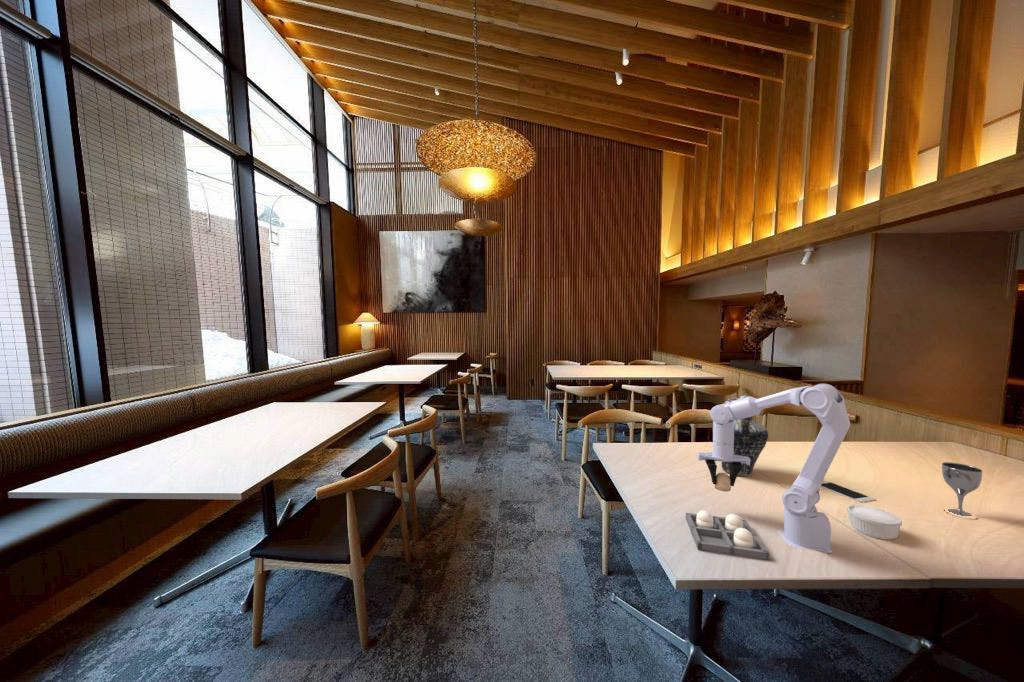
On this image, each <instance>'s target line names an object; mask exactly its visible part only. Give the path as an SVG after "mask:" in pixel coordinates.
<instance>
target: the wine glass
mask: <svg viewBox="0 0 1024 682" xmlns="http://www.w3.org/2000/svg"><path fill="white" fill-rule="evenodd" d="M941 474H942V477H943V480H944V482H945V483H946V485H948V486H949V488H951V489H952V490H953V492H954V493H955V494H956V496H957V503H958V504H957V505H958V508H953V509H948V511H949V512H952V513H954V514H957V515H961V516H972V515H971V514H972V513H971V512H969V511H966V512H965V511H964V510H963V504H964V499H965V497H966V496H967V495H968V494H971V493H972V492H974V491H976V490H978V489H979V488H980V486H981V484H982V481H983V470H982V469H981V468H979V467H977V466H973V465H969V464H965V463H964V464H963V463H958V462H950V461H946V462H945V461H944V462H942V464H941ZM968 512H969V513H968ZM970 513H971V514H970Z"/></svg>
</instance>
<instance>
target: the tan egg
mask: <svg viewBox="0 0 1024 682" xmlns="http://www.w3.org/2000/svg"><path fill="white" fill-rule="evenodd" d="M714 488H715V490H718V491H720V492H731V490H732V486H731V479H730V477H729V474H727V473H725V472H718V473H716V484H714Z"/></svg>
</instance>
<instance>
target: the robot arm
mask: <svg viewBox="0 0 1024 682" xmlns="http://www.w3.org/2000/svg"><path fill="white" fill-rule="evenodd" d="M739 398H740V399H738V400H735V401H731V402H730V401H728V400H727V401H724V403H722V404H717V405H715V406H713V407H712V408H711V409H710V411H709V414H710V415H709V416H710V418H711V420H712V424H713V431H712V452H697V453H696V454H697V455H696V457H697V461H705V464H706V466H707V468H708V471H709V474H710V477H711V483H712V485H715V484H716V474H717V469H718V465H717V463H716V462H721V463H722V462H729V470H730V473H729V474H728V476H729V477H730V479H731V487H734V486H735V483H736V480H737V478H738V476H739V475H738V474H739V472H740V471H741V470H742V465H741V463H744V464H747V465H750V458H749V457H747V456H739V455H734V420H739V419H743V418H748V417H752V418H753V417H754V416H759V415H761V411H762V410H764V409H768V408H769V409H770V408H774V407H777V406H782V405H787V404H792V405H795V406H797V407H798V406H799V407H800V406H803V407H804V408H806V409H807V410H808V411H810V412H811V413H812V414H814V415H815V416H816V417H817V419H818V420H819V422H820V423H821V425H822V427H821V428H820V430H819V433H818V434H817V437H816V438H815V441H814V443H813V445H812V446H811V449H810V450H809V454H808V455H807V457H806V459H805V462H804V463H803V466H802V468H801V469H800V472H799V474H798V476H797V477H796V479H795V481H794V482H793V483H792V485H791V487H790V488H789V489H787V490H785V491H784V492H783V493H782V496H781V500H782V504H783V505H784V509H783V510H784V511H783V513H784V515H783V530H777V532H778V533H779V535H780V536H781V537H782V538H783V540H784V541H785V543H786V544H788V545H789V547H792V548H798V549H807V550H814V551H822V552H825V553H826V554H827V553H828V554H832V553H833V551H832V550H831V542H832V541H831V539H832V538H831V535H832V533H831V532H832V528H831V522H830V519H829V518H828V515H826V514H825V512H822V511H818V509H817V507H816V504H818V503H819V502H820V500H821V494H820V489H821V488H822V487H821V483H822V481H824V479H825V476H826V474H827V473H828V470H829V469H830V467H831V464H832V463H833V461H834V458H835V456H836V454H837V453H838V451H839V449H840V447H841V445H842V443H843V441H844V439H845V437H846V435H847V433H848V431H849V429H850V426H851V420H850V418H849V415H848V412H847V411H848V410H847V406H846V404H845V403H846V402H845V398H844V396H843V395H842V393H840V391H839V390H838V389H837V388H836V387H835V386H833V385H831V384H828V383H818V384H815V385H814V386H812V385H806V386H799V387H795V388H794V387H793V388H790V389H787V390H783V391H780V392H777V393H774V394H770V395H766V396H763V397H760V398H756V397H754V396H750V395H749V396H747V395H745V394H744V395H742V396H740V397H739Z"/></svg>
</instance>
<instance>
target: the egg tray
mask: <svg viewBox="0 0 1024 682" xmlns="http://www.w3.org/2000/svg"><path fill="white" fill-rule="evenodd" d="M696 516H697V513H690V512H686V513H685V520H686V523H687V525H688V528H689V530H690V533H691V536H692V538H693V539H692V540H693V541H694V544H695V547H696V549H697V550H698V551H703V552H709V553H717V554H722V555H723V554H724V555H731V556H737V557H744V558H749V559H751V558H752V559H756V560H765V561H769V556H770V554H769V551H768V550H767V549H766V547H765V546H764V545H763V542H762V541H761V540H760V538H759V537H758V535H757V534H756V533H755V531H754V530H753V528H752V527H751V525H750V524H749V523H748V521H747V519H742V521H743V528H745V529H747V530H748V531H750V533H751V534H752V536H753V549H752V548H744V547H737V546H734V531H727V530H725V518H726V516H725V517H724V516H715V515H712V517H713V529H712V528H704V527H697V526H696Z"/></svg>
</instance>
